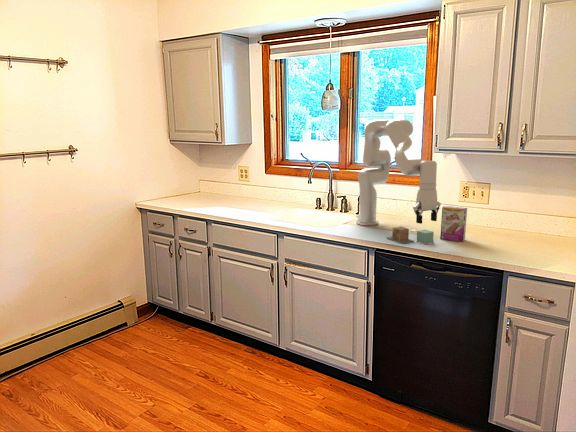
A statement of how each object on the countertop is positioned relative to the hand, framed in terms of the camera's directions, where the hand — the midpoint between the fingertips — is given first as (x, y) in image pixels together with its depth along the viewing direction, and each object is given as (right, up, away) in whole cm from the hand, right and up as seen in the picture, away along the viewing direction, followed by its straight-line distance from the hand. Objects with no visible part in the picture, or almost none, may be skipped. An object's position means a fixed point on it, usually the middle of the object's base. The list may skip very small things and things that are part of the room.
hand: (426, 221), depth 229 cm
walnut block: (-11, -9, +6) cm, 15 cm away
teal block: (0, -10, +3) cm, 10 cm away
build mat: (-11, -9, +6) cm, 16 cm away
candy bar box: (+15, -9, +7) cm, 19 cm away
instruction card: (-1, -5, +27) cm, 27 cm away
